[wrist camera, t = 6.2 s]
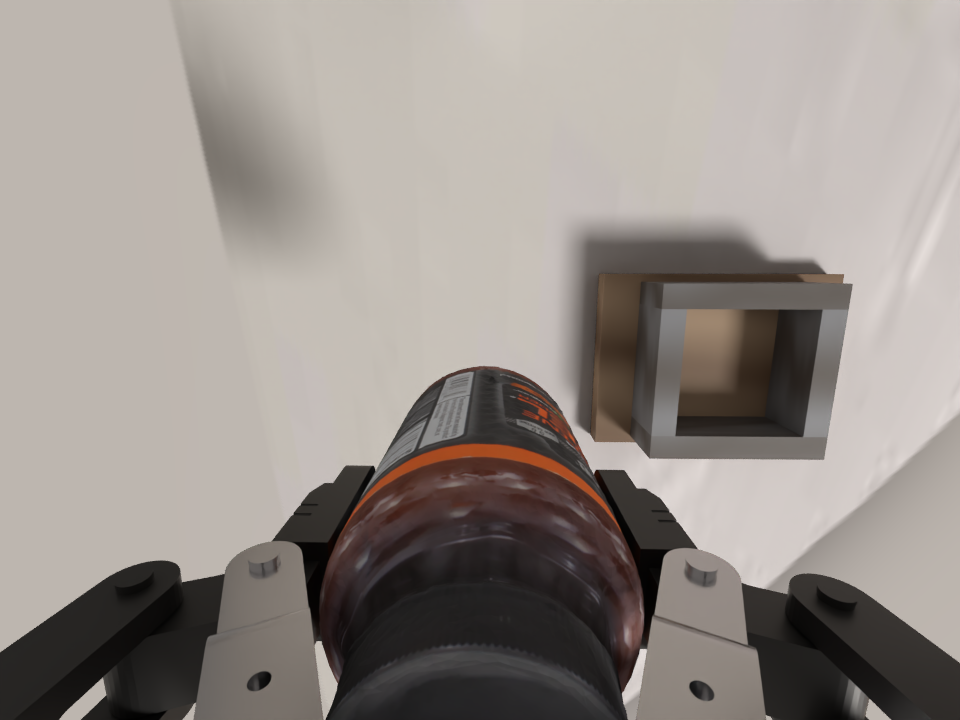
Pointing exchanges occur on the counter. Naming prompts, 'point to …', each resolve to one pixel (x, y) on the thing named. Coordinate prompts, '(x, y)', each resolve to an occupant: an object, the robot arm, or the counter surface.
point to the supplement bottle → (482, 569)
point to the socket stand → (718, 363)
